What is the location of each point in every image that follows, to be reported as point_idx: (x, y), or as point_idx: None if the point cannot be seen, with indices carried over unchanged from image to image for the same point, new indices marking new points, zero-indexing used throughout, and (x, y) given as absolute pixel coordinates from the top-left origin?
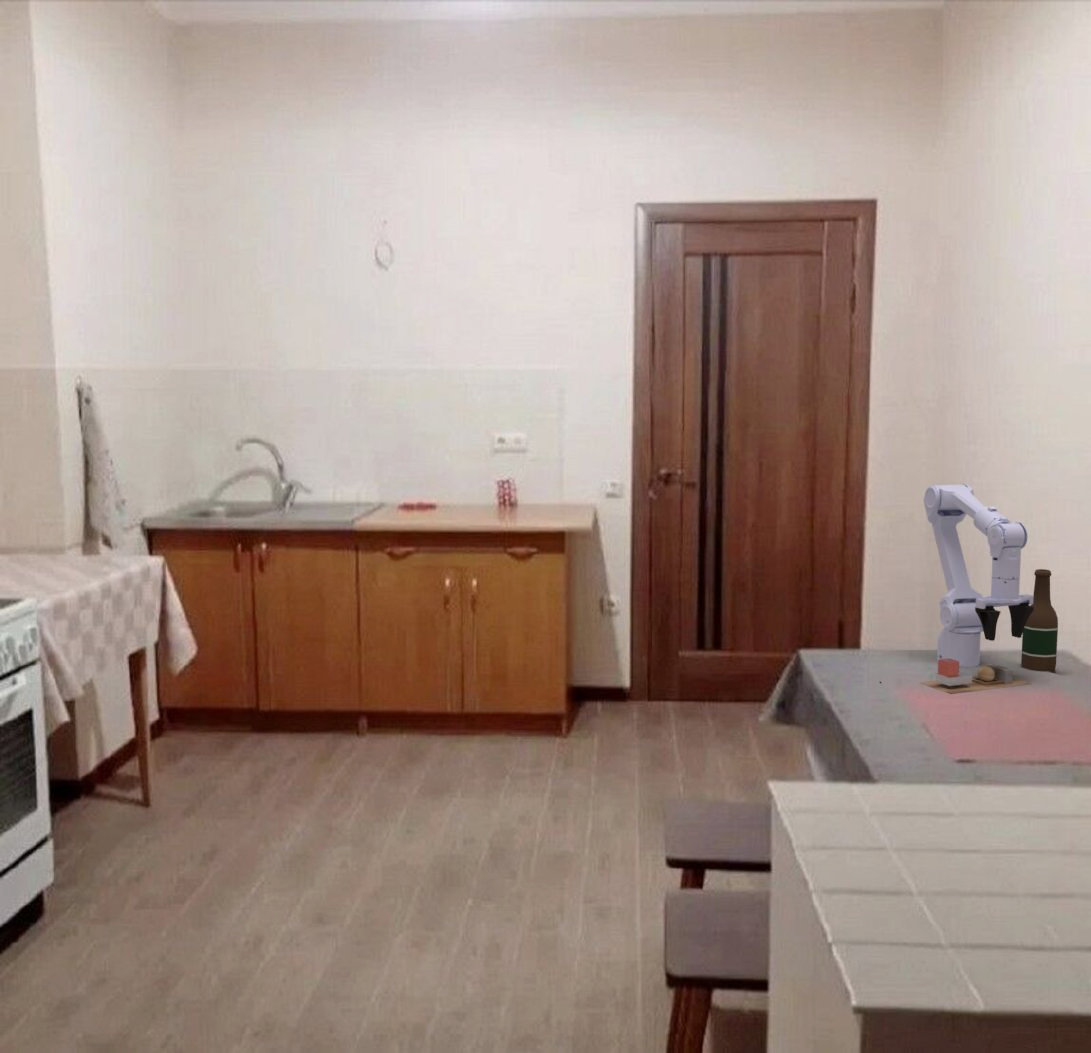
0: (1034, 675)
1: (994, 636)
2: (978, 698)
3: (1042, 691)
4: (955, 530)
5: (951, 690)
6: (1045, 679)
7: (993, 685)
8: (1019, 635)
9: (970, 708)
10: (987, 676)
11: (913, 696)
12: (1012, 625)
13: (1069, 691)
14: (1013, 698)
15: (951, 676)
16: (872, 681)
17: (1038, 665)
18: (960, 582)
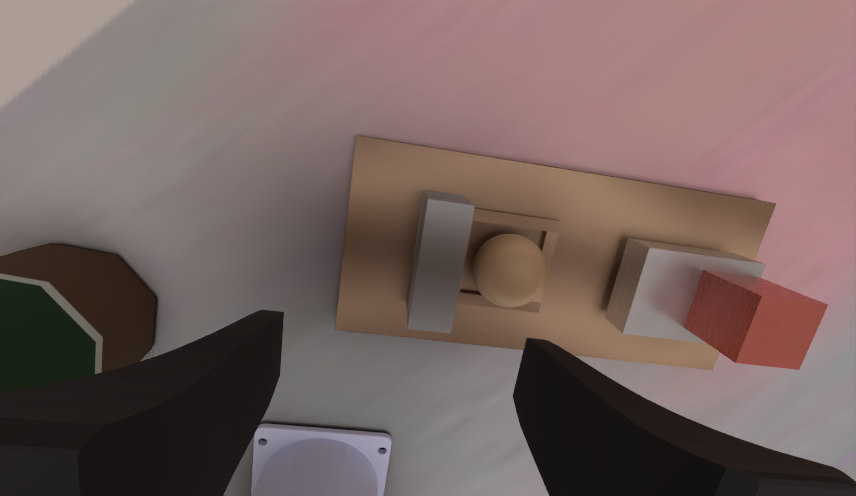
0: (146, 283)
1: (549, 346)
2: (663, 156)
3: (344, 85)
4: None
5: (726, 238)
6: (155, 215)
7: (525, 205)
8: (279, 315)
9: (821, 71)
10: (535, 244)
11: (808, 295)
12: (245, 438)
13: (229, 12)
14: (553, 77)
15: (740, 276)
16: None
17: (106, 287)
18: None
